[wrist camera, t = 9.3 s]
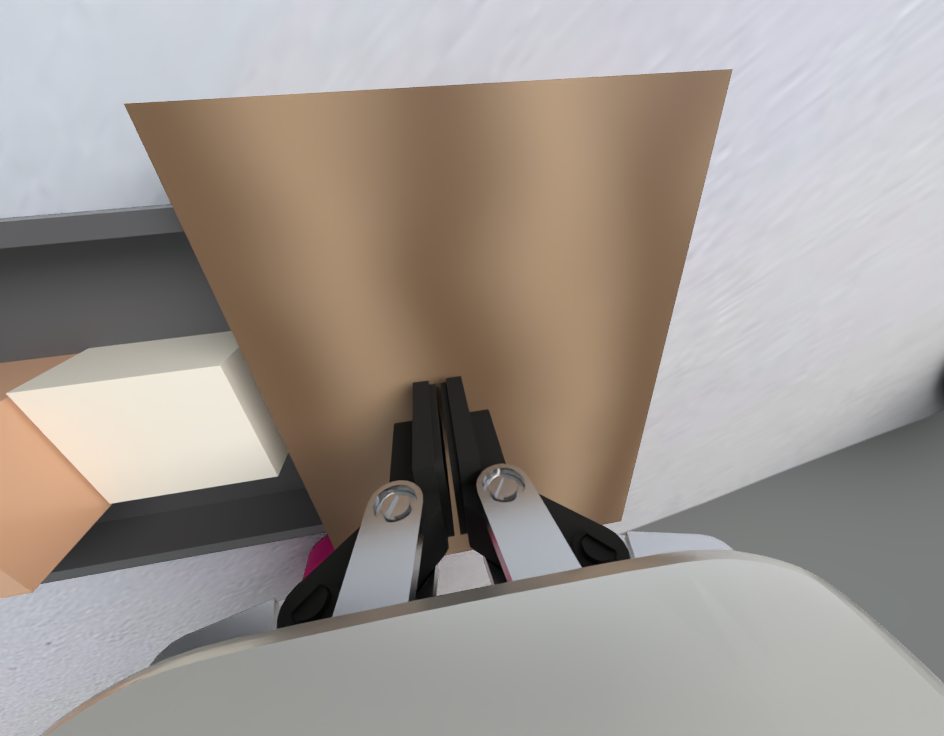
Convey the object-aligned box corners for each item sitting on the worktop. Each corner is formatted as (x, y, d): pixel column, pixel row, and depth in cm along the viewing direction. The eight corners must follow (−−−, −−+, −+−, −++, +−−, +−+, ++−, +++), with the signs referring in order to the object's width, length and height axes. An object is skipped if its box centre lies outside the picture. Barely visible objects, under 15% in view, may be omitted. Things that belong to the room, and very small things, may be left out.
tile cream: (257, 327, 13) (220, 365, 11) (299, 426, 16) (278, 476, 13) (88, 348, 13) (5, 393, 10) (160, 447, 15) (109, 504, 13)
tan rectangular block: (-132, 475, 8) (-296, 499, 7) (32, 592, 10) (-84, 613, 10) (88, 352, 13) (-3, 363, 12) (160, 450, 15) (86, 461, 15)
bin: (234, 198, 11) (184, 206, 9) (343, 481, 19) (332, 531, 16) (-219, 236, 10) (-430, 259, 8) (84, 525, 17) (27, 586, 15)
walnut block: (639, 98, 12) (732, 69, 8) (586, 464, 21) (621, 520, 18) (217, 126, 10) (124, 104, 7) (357, 504, 20) (346, 574, 16)
